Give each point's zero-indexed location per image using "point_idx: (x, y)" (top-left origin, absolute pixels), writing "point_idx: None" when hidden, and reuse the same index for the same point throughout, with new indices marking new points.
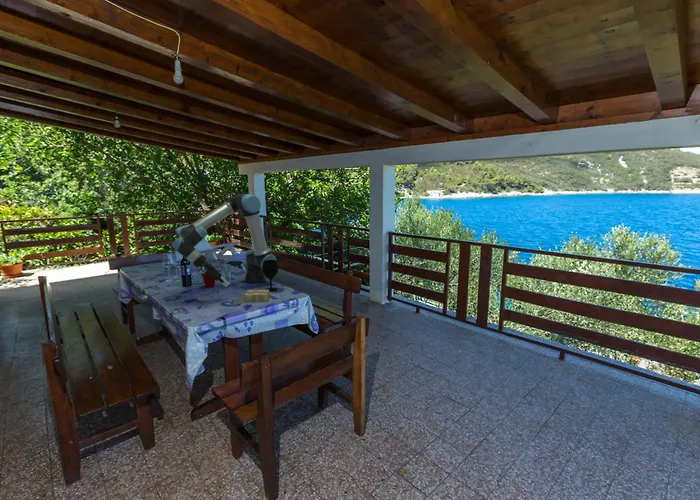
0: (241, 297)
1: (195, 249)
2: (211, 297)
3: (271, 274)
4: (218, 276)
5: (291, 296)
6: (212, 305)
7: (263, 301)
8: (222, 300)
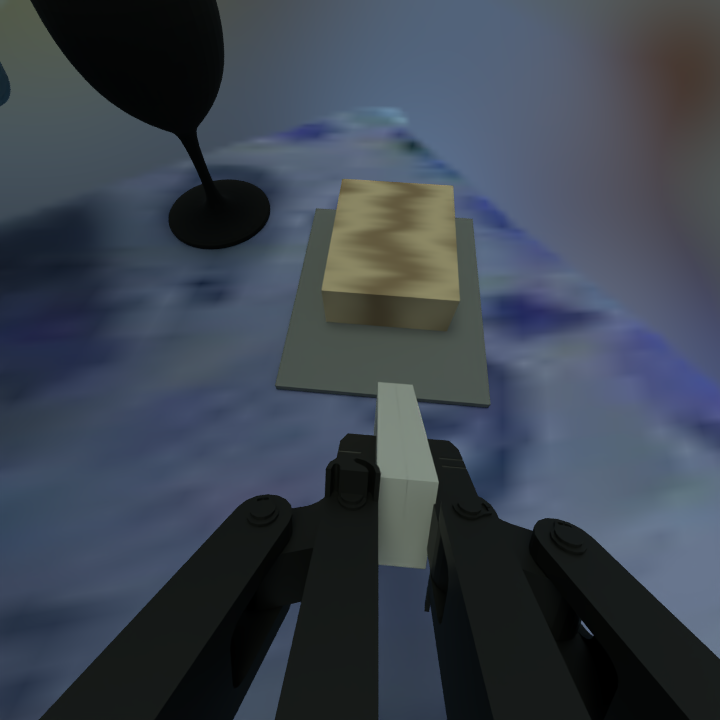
0: (342, 361)
1: None
2: None
3: (223, 65)
4: (503, 532)
5: (365, 144)
6: None
7: None
8: None
